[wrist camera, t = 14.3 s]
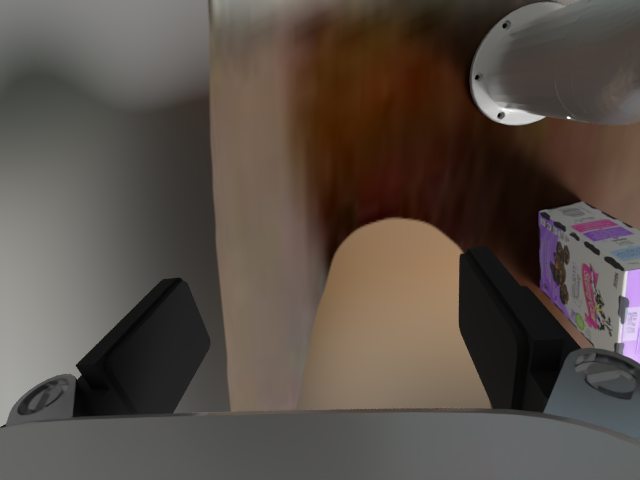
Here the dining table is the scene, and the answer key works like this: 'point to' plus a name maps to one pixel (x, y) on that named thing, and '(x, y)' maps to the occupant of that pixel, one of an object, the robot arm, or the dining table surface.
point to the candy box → (593, 274)
